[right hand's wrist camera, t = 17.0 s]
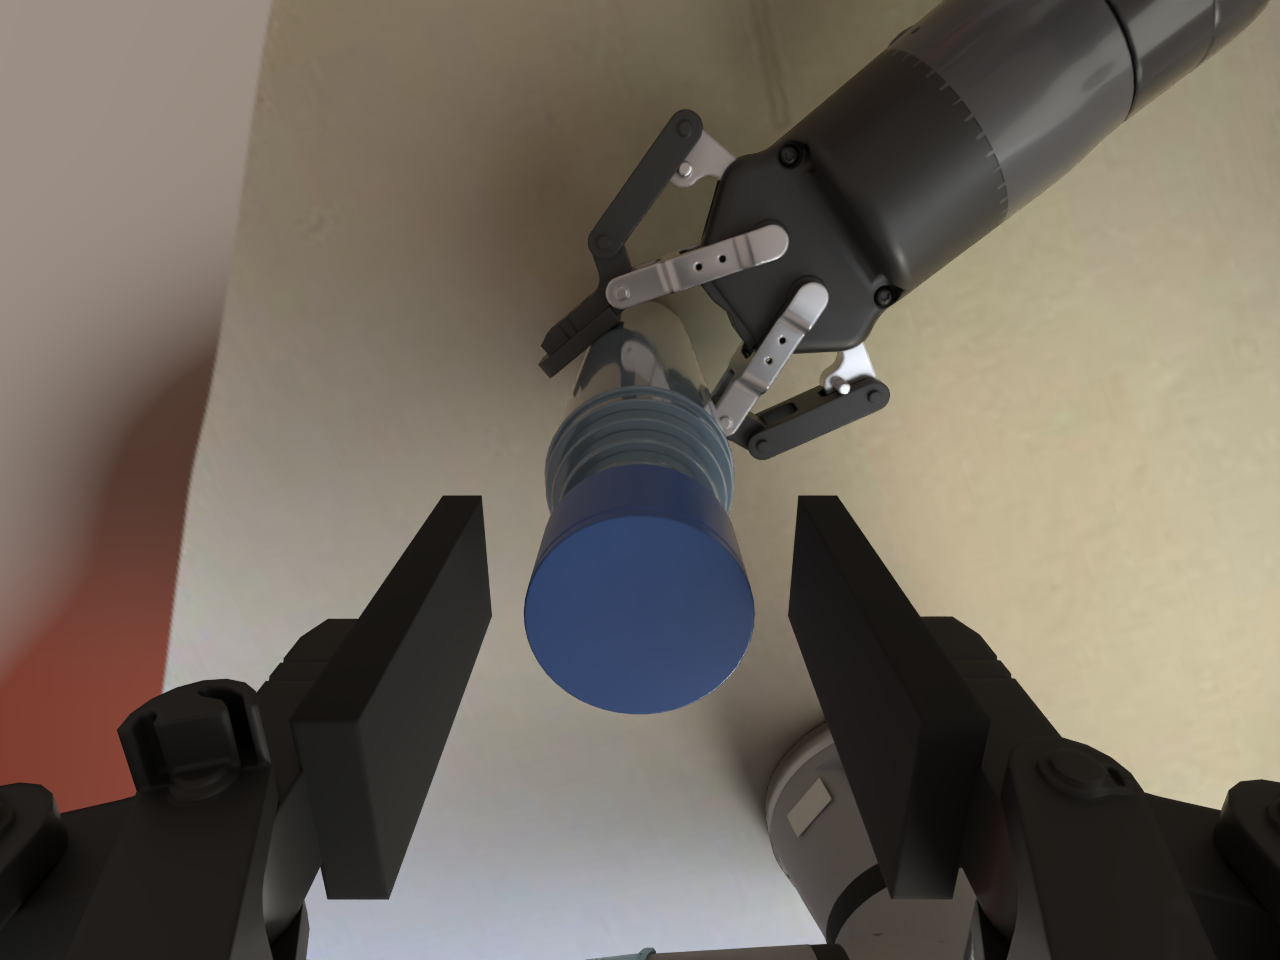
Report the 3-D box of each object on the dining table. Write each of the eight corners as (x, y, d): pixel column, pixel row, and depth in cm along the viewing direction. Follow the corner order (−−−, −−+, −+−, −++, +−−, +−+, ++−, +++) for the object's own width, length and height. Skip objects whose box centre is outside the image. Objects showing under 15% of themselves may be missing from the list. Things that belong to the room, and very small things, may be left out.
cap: (630, 422, 14) (628, 467, 11) (776, 546, 14) (803, 612, 12) (503, 560, 15) (477, 629, 12) (647, 667, 15) (648, 751, 13)
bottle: (710, 346, 35) (837, 596, 12) (644, 417, 37) (649, 762, 14) (635, 277, 34) (626, 415, 11) (569, 354, 35) (442, 615, 13)
